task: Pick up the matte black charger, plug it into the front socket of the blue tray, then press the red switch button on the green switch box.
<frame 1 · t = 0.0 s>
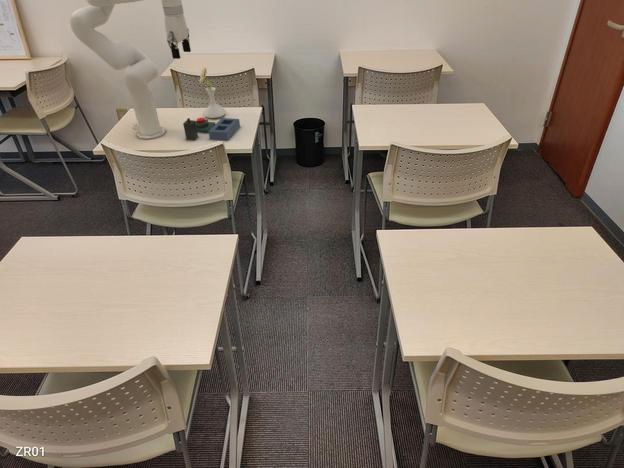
hand: (182, 55, 200), 37 cm above the table, tool pointing down, fingers open, 9 cm apart
charger: (192, 138, 221), on the table
flower in vase: (214, 116, 241), on the table
power button: (200, 120, 227), point 4 cm above the table, slide at 0.1 cm
switch box: (202, 128, 229), on the table
blue tray: (225, 133, 224), on the table
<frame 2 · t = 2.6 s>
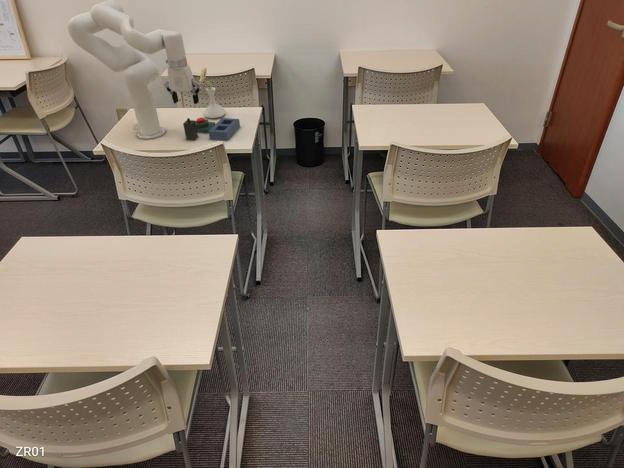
hand: (186, 102, 211), 17 cm above the table, tool pointing down, fingers open, 9 cm apart
nothing on the table moved.
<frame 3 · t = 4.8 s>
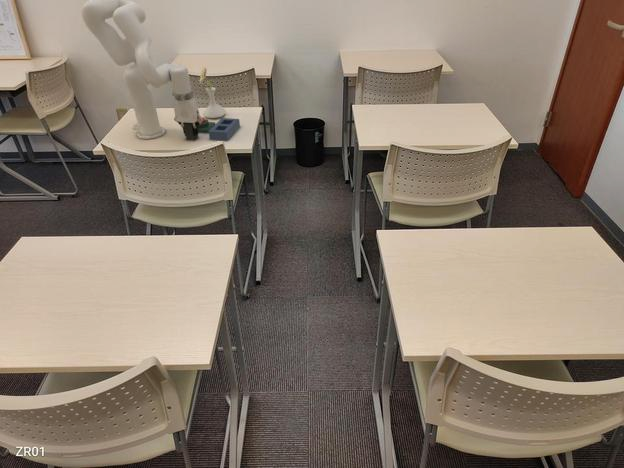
hand: (191, 134, 220), 2 cm above the table, tool pointing down, fingers closed on charger, 4 cm apart
charger: (192, 138, 221), on the table, touching gripper
everything else where it was.
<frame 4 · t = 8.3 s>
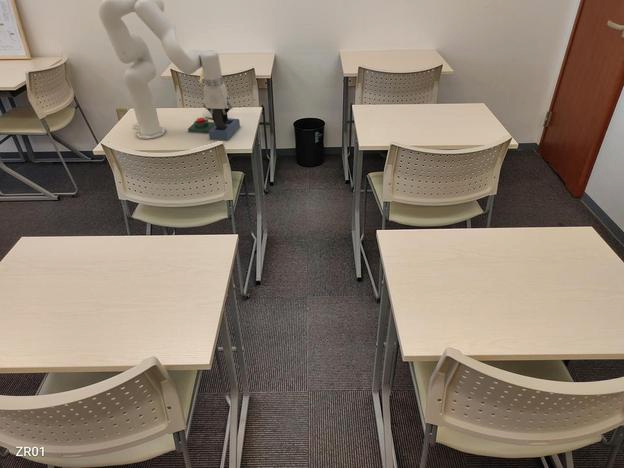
hand: (220, 121, 217), 7 cm above the table, tool pointing down, fingers closed on charger, 4 cm apart
charger: (221, 125, 218), point 5 cm above the table, touching gripper
everything else where it was.
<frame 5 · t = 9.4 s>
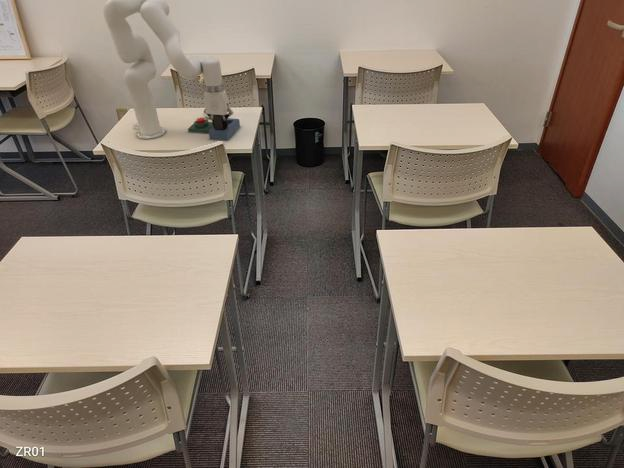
hand: (220, 127, 219), 4 cm above the table, tool pointing down, fingers closed on charger, 4 cm apart
charger: (221, 131, 220), point 2 cm above the table, touching gripper
everything else where it was.
when the fingers open (4 cm above the table, at t = 11.7 s): charger drops 2 cm, resting in blue tray.
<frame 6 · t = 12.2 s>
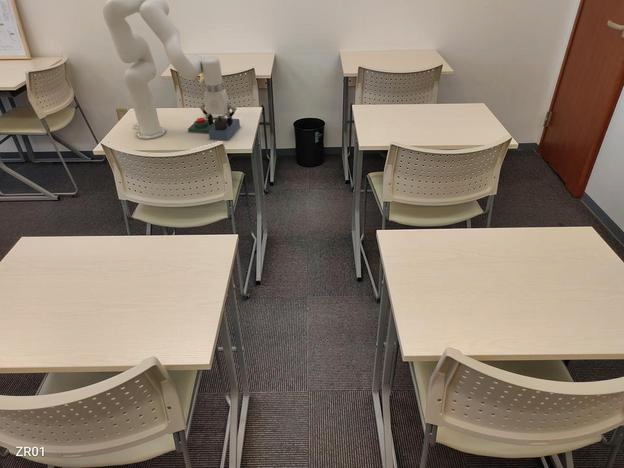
hand: (220, 124, 218), 5 cm above the table, tool pointing down, fingers open, 8 cm apart
charger: (222, 136, 221), resting in blue tray
everything else where it was.
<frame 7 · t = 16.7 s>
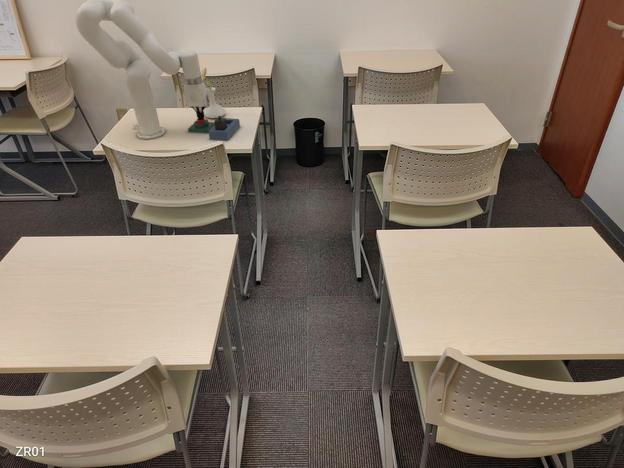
hand: (201, 119, 226), 5 cm above the table, tool pointing down, fingers closed
power button: (200, 120, 227), point 4 cm above the table, slide at 0.1 cm, touching gripper
everything else where it was.
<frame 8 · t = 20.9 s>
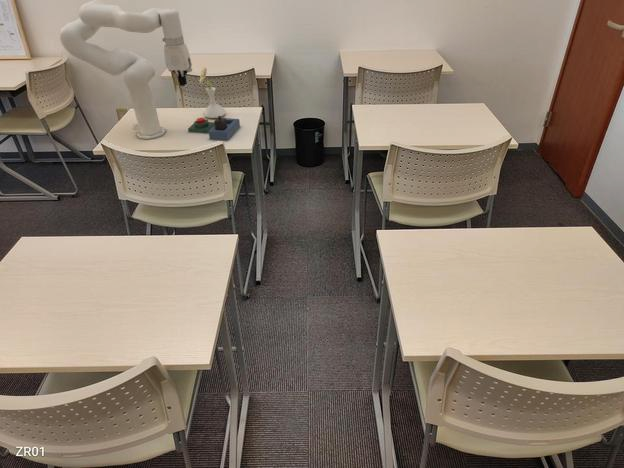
hand: (183, 84, 212), 23 cm above the table, tool pointing down, fingers closed
power button: (200, 120, 227), point 4 cm above the table, slide at 0.1 cm
everything else where it was.
at the end: charger 0.0 cm from the target spot in the blue tray, point 0.0 cm above the blue tray's base; power button pushed in 1.1 cm at the most during the clip, back to where it started at the end; power button slide at 0.1 cm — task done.
